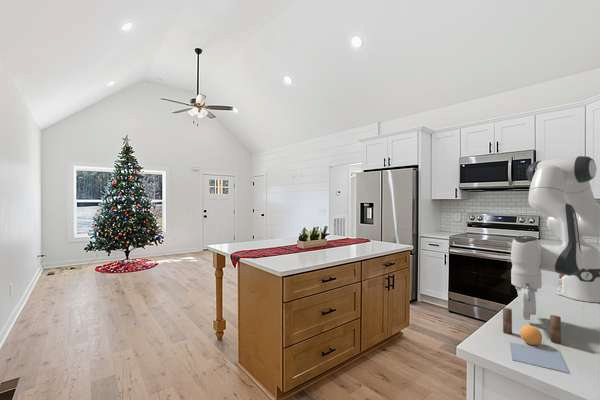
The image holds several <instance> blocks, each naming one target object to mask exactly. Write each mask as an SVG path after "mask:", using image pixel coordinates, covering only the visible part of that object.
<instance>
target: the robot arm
mask: <svg viewBox="0 0 600 400" xmlns="http://www.w3.org/2000/svg"><path fill="white" fill-rule="evenodd" d="M596 174H597V164H596V162H595V159H593V158H592V157H590V156H582V155H579V156H567V157H564V156H563V157H557V158H552V159H546V160H545V159H544V160H538V161H534V162H531V163H530V165H528V167H527V170H526V178H527V179H528V181H529V182H530V186H529V190H528V198H527V199H528V200H527V201H528V205H529V206H530V208H531V209H532V210H533V211H535V212H537V213H539V214H540V215H543V216H546V217H547V219H546V227H547V229H548V230H549V231H550V232H551V233H553V234H554V235H556V236H557V237H558V238H559V239H560V240H561V241H560V242H562V244H561V245H553V244H552V245H551V244H543V243H540V241H539V238H538V237H536V236H532V235H519V236H515V237H514V238H513V239H512V242H511V250H510V261H511V265H512V266H511V269H510V277H511V278H510V281H511V285H513V286H515V289H516V292H517V297H518V301H519V304H520V307H521V310H522V311H521V312H522V317H523V319H524V320H526V321H530V320H531V316H536V314H537V304H536V303H537V299H536V293H538V289H542V286H543V285H542V283H543V282H542V277H543V276H542V271H546V272H551V273H557V274H558V275H559V274H564V276H563V277H562V279H561V278H560V279H559V278H558V284H559V285H558V286H557V287H556V292H555V294H556V295H558V296H562V297H567V298H569V299H573V300H577V301H581V302H589V303H600V251H599V249H598V248H596V247H595V246H594V245H592V244H589V243H587V242H586V240H584V239H583V237H588V238H589V237H592V238H600V203H598V202H597V200H596V199H595V196H594V193H593V190H592V187H591V186H592V185H591V182H590V181H592V180H593V179H594V178H595V177H596ZM561 284H562V285H561Z"/></svg>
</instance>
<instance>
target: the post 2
mask: <svg viewBox="0 0 600 400" xmlns="http://www.w3.org/2000/svg"><path fill="white" fill-rule="evenodd" d="M549 317H550V318H549V321H550V322H549V324H550V325H549V327H550V329H549V330H550V333H549V334H550V342H551V343H553V344H558V345H560V344H562V320H561V319H562V318H561V317H560V316H559V315H553V314H551V315H550V316H549Z"/></svg>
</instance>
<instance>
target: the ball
mask: <svg viewBox="0 0 600 400" xmlns="http://www.w3.org/2000/svg"><path fill="white" fill-rule="evenodd" d="M519 331H520V332H519V335H520V337H521V339H522V341H524V343H526V344H529V346H538V345H540V344H541V343H542V341H543V334H542V332H541V331H540V330H539V329H538V328H536V327H535V326H532V325H525V326H523V327H521V328H520V330H519Z"/></svg>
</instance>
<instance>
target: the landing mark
mask: <svg viewBox="0 0 600 400" xmlns="http://www.w3.org/2000/svg"><path fill="white" fill-rule="evenodd" d="M509 347H510V353H511V360H512V361H514V362H518V363H523V364H527V365H531V366H536V367H540V368H544V369H549V370H552V369H553V370H554V371H556V372H557V371H558V372H561V371H562V373H565V372H566V374H569V373H570V372H569V369H568V367H567V365H566V363H565V361H564V358H563V356H562V354H561V352H560V351H556V350H551V349H546V348H542V347H541V348H540V347H536V346H533V345H526V344H522V343H516V342H512V341H509Z"/></svg>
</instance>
